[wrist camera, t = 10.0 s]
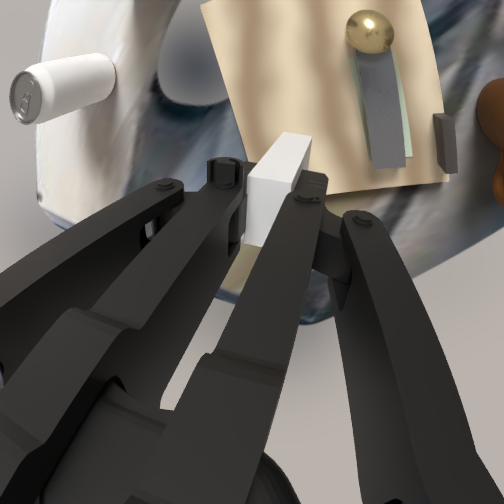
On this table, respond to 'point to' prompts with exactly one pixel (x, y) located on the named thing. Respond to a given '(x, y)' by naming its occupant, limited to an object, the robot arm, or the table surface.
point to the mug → (494, 128)
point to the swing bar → (378, 86)
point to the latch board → (330, 86)
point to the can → (60, 87)
